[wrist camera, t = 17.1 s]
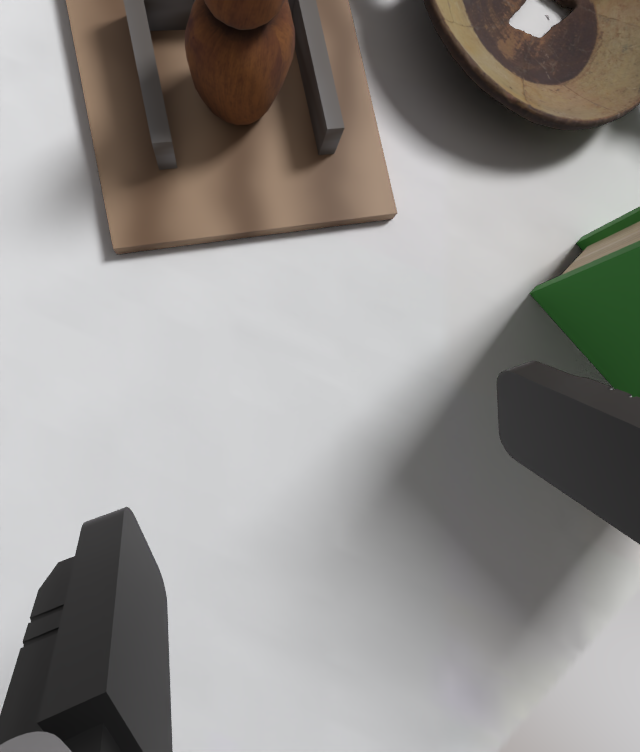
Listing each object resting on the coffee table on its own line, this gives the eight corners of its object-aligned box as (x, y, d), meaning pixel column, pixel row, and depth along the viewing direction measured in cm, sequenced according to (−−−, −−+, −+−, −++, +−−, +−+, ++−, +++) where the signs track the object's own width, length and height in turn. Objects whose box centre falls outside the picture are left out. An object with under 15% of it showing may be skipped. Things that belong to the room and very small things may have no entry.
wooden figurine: (229, 38, 32) (230, -277, 18) (298, 87, 33) (353, -179, 18) (176, 108, 31) (130, -171, 17) (248, 157, 32) (265, -70, 17)
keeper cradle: (116, 254, 30) (100, 229, 26) (64, -22, 32) (40, -85, 28) (392, 218, 35) (413, 193, 31) (337, -24, 36) (350, -78, 32)
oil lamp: (481, -146, 40) (539, -276, 33) (715, 88, 43) (819, 18, 35) (329, 9, 36) (356, -101, 28) (602, 258, 38) (693, 219, 31)
